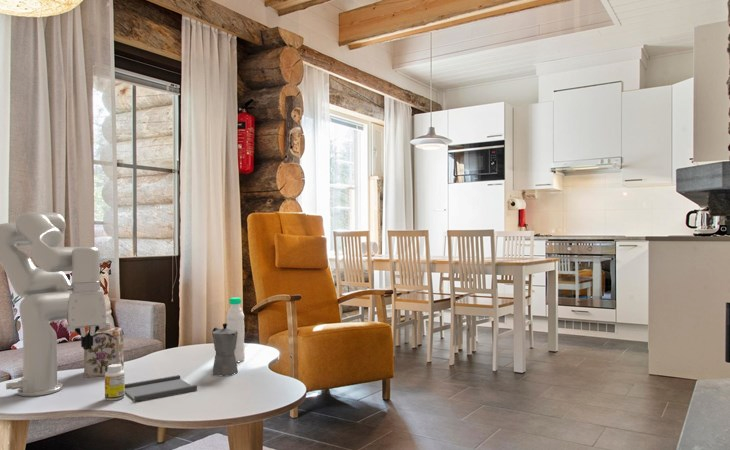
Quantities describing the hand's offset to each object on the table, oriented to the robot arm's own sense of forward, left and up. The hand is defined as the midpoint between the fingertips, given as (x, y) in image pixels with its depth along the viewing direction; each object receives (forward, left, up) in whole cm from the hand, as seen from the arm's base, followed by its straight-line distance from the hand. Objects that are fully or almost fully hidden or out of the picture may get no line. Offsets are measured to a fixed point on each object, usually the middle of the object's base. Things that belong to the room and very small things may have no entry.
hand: (87, 349), depth 164 cm
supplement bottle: (+8, +1, -17) cm, 18 cm away
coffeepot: (+47, +9, -17) cm, 50 cm away
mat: (+21, +1, -16) cm, 27 cm away
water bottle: (+58, +23, -17) cm, 64 cm away
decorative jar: (+13, +37, -17) cm, 42 cm away
